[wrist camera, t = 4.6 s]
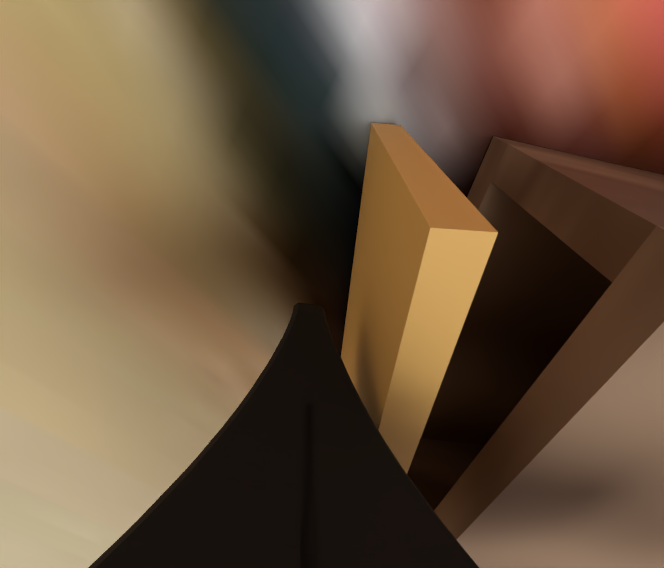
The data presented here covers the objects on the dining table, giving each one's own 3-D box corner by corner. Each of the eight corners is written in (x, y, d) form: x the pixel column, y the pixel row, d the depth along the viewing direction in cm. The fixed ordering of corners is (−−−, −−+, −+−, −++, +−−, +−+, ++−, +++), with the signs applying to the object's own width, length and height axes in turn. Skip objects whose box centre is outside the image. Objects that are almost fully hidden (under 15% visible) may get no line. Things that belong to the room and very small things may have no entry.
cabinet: (548, 447, 19) (645, 625, 13) (367, 426, 18) (387, 612, 12) (784, 201, 11) (1271, 369, 5) (493, 136, 10) (721, 261, 4)
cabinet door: (347, 440, 18) (356, 615, 12) (328, 439, 18) (328, 614, 12) (404, 125, 10) (506, 233, 4) (367, 122, 9) (421, 227, 4)
